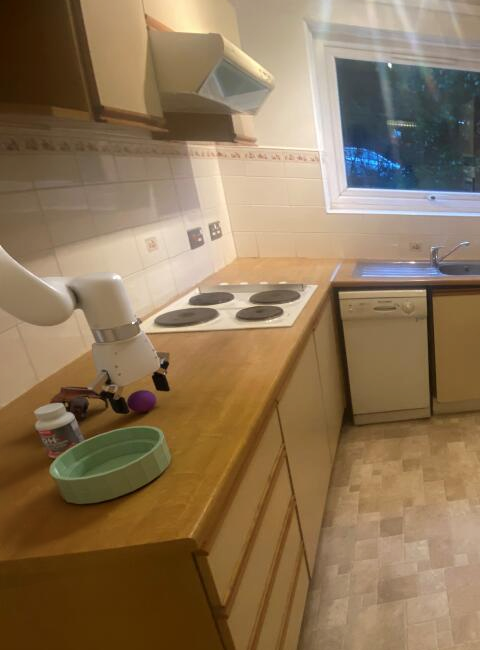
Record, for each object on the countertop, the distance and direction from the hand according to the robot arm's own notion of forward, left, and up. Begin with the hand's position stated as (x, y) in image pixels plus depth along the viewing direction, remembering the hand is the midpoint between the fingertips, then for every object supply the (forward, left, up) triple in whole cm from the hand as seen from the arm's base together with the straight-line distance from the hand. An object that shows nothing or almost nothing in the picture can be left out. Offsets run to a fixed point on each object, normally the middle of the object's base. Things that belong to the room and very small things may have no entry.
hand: (144, 401), depth 98 cm
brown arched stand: (-11, -5, -3) cm, 13 cm away
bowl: (+16, -19, -2) cm, 25 cm away
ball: (0, 0, 0) cm, 0 cm away
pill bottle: (-1, -15, -3) cm, 16 cm away
